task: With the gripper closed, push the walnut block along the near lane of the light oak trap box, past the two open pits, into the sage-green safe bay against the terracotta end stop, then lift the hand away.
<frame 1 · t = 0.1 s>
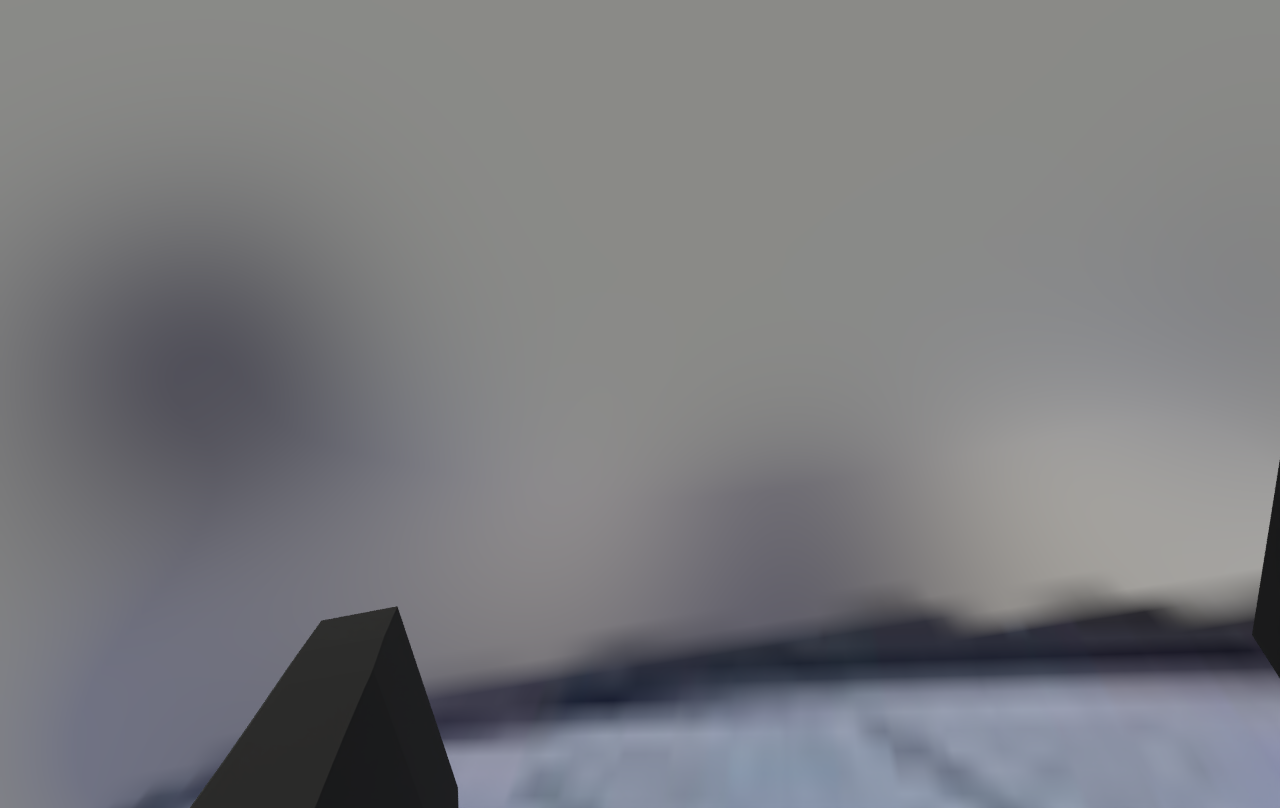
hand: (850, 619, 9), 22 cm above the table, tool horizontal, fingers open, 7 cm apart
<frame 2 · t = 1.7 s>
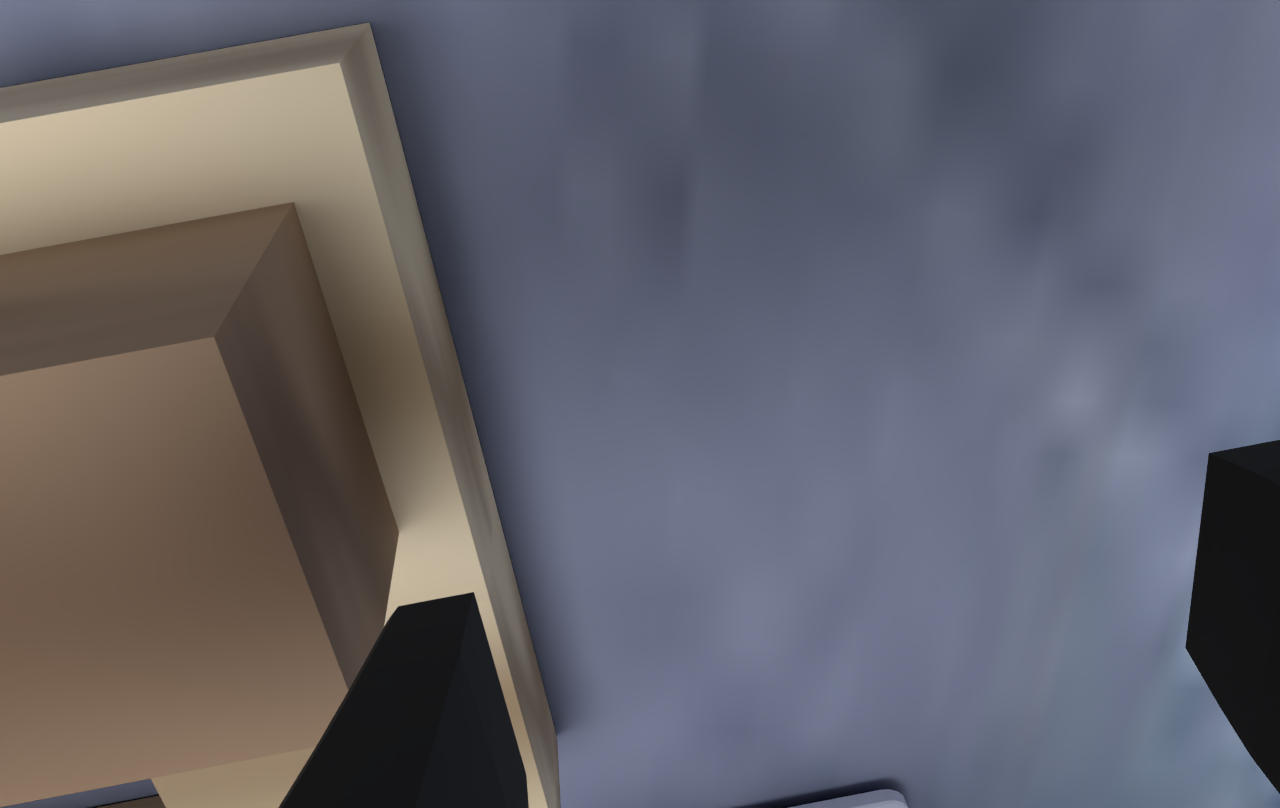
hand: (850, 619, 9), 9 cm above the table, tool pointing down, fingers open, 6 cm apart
walnut block: (164, 415, 14), point 3 cm above the table, touching trap box
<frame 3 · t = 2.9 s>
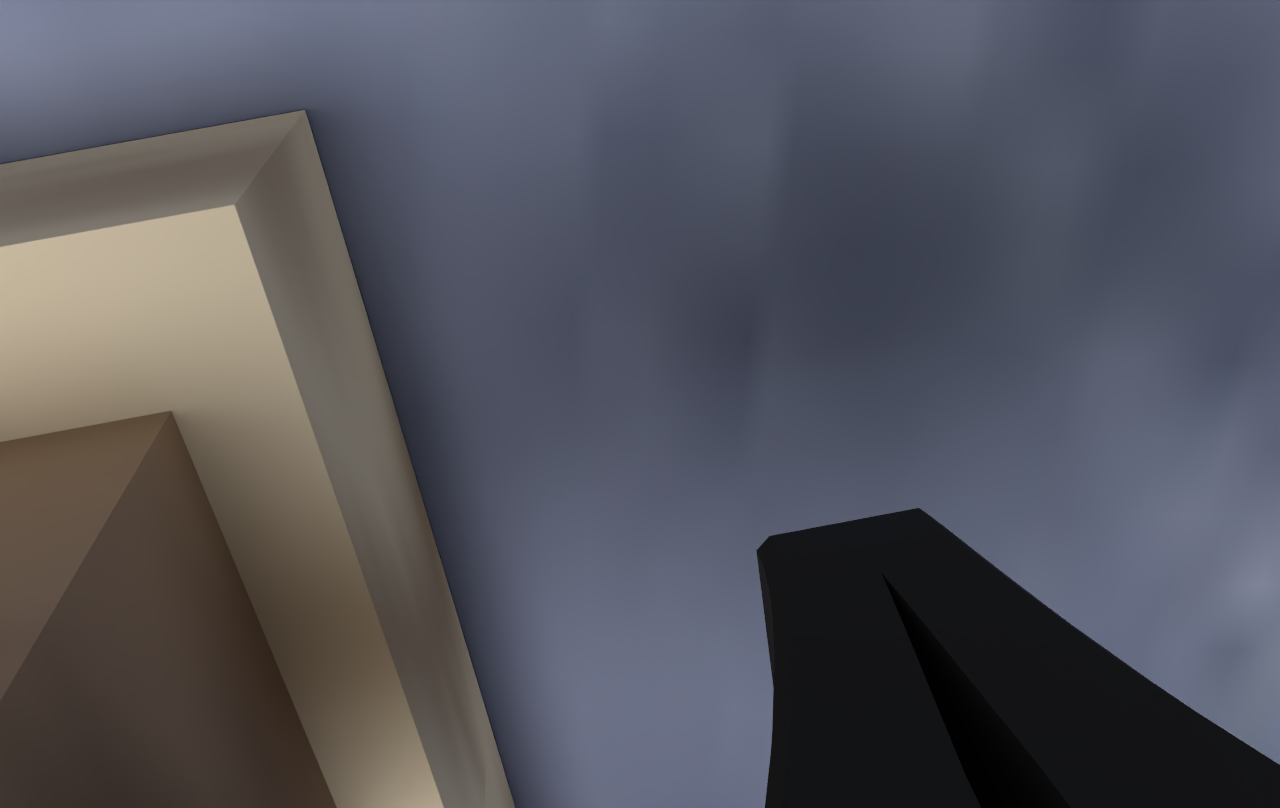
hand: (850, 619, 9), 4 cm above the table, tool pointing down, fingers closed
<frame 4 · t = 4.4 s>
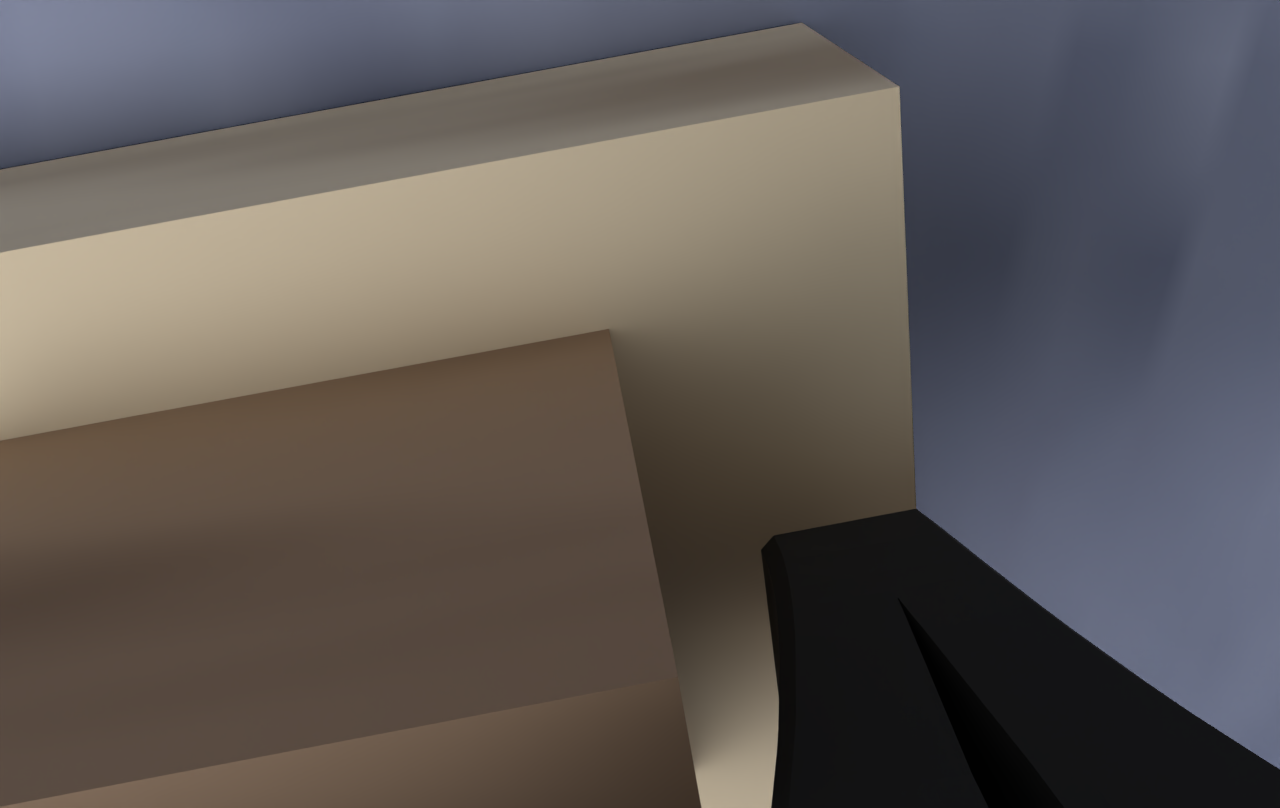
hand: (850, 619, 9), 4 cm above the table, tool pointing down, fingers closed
walnut block: (379, 630, 10), point 3 cm above the table, touching gripper, trap box
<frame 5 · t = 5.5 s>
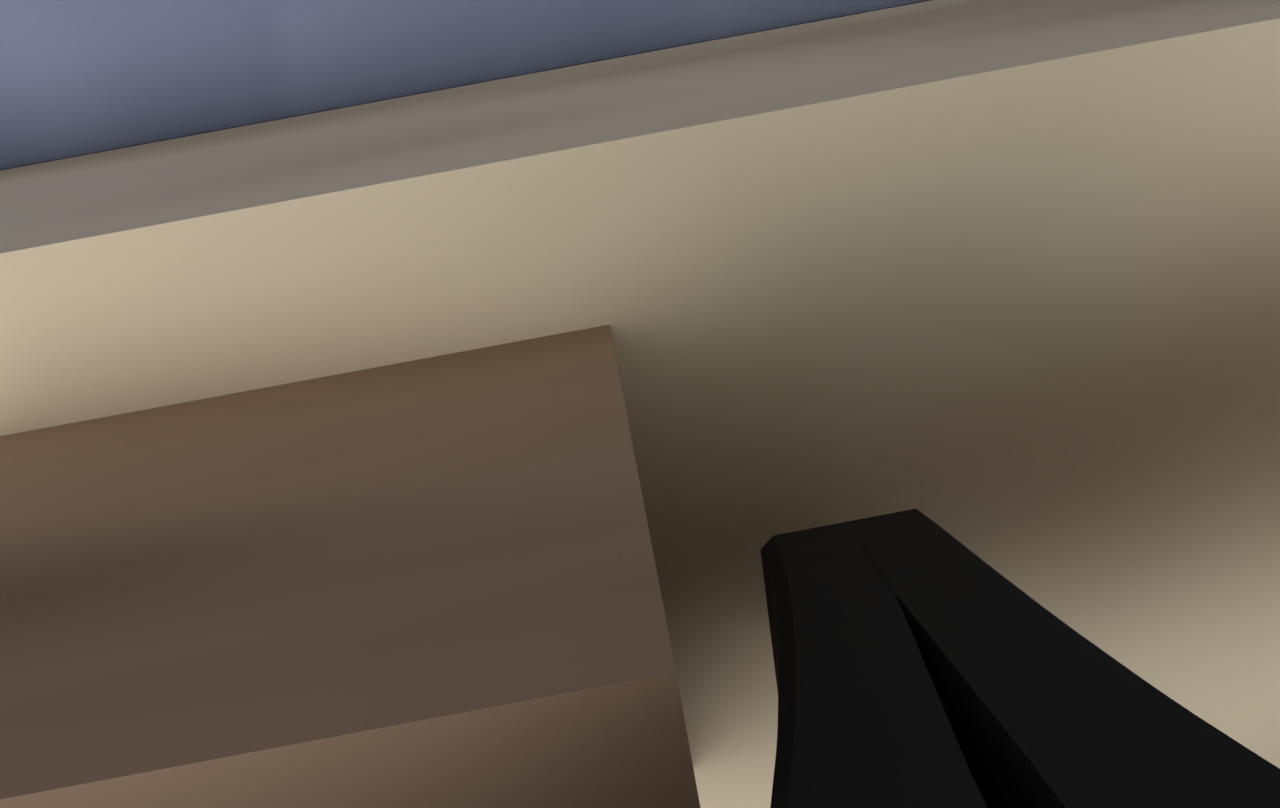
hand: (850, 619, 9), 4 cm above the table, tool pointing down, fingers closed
walnut block: (380, 626, 10), point 3 cm above the table, touching gripper, trap box
trap box: (498, 654, 14), on the table
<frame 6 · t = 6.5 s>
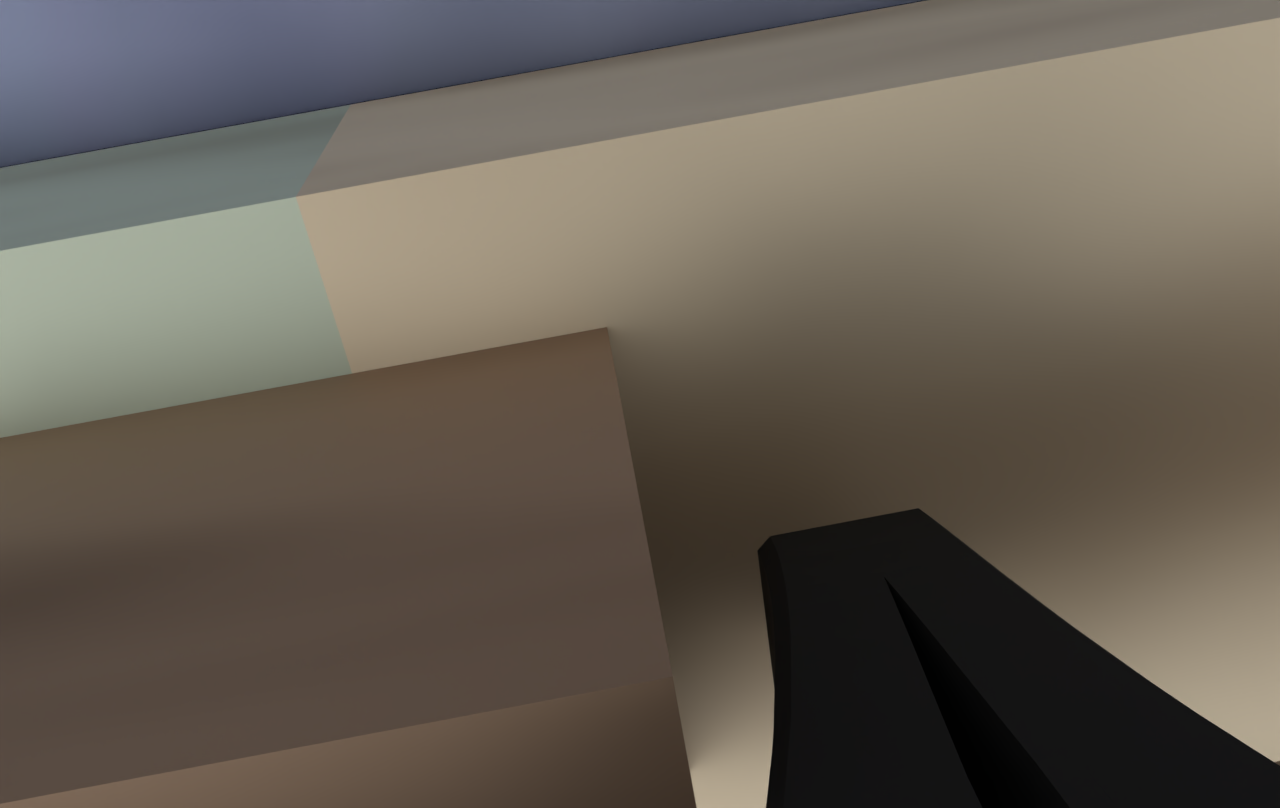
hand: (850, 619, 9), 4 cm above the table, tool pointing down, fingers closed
walnut block: (378, 628, 10), point 3 cm above the table, touching gripper, trap box
trap box: (888, 578, 14), on the table
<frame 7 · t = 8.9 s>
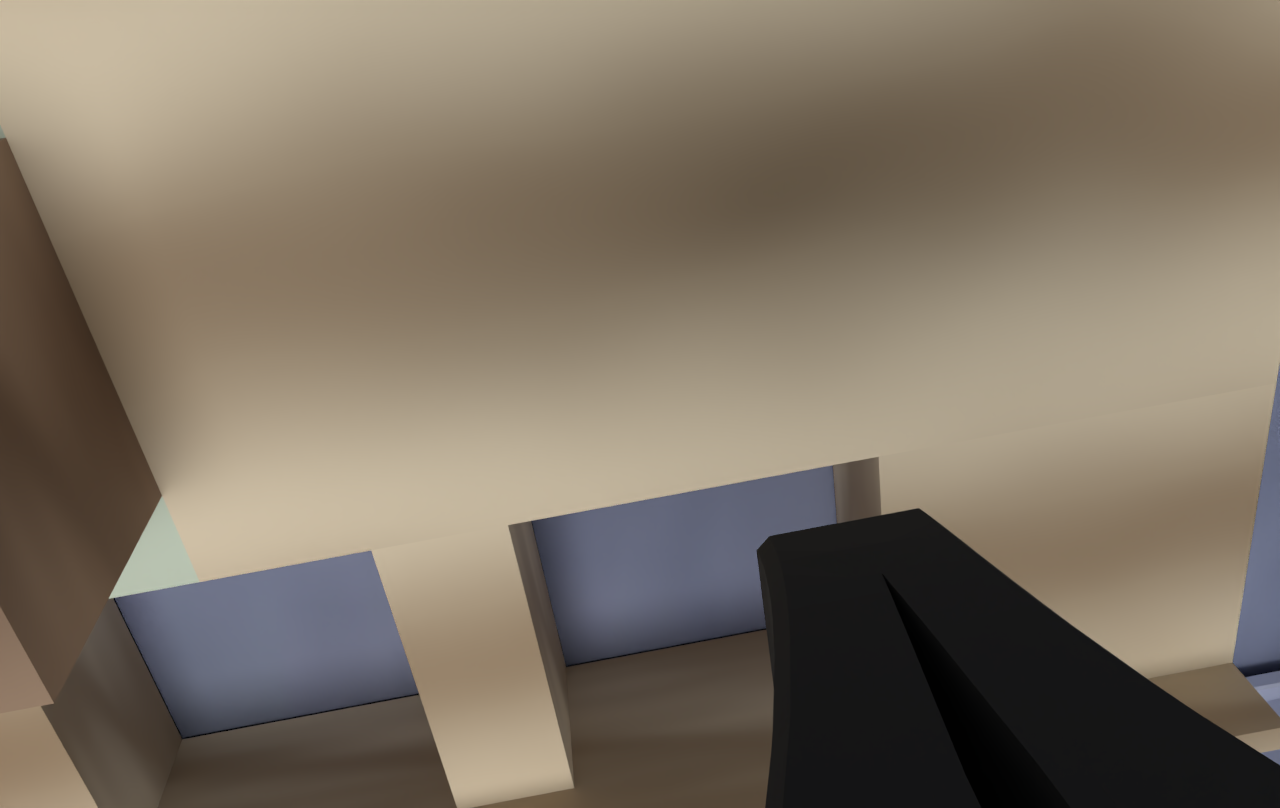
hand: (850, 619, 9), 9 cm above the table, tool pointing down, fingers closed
trap box: (525, 367, 18), on the table
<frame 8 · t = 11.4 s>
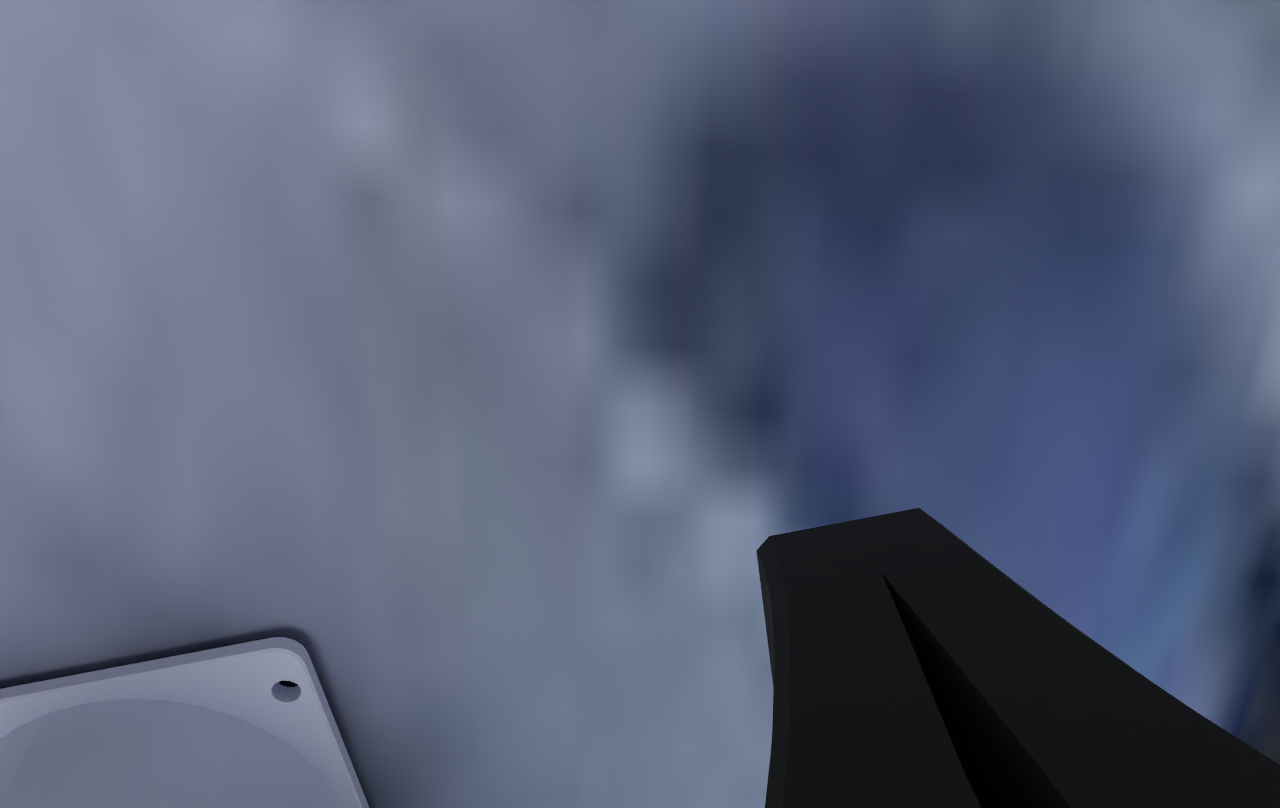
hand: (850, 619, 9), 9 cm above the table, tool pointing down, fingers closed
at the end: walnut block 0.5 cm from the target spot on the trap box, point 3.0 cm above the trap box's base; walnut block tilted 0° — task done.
